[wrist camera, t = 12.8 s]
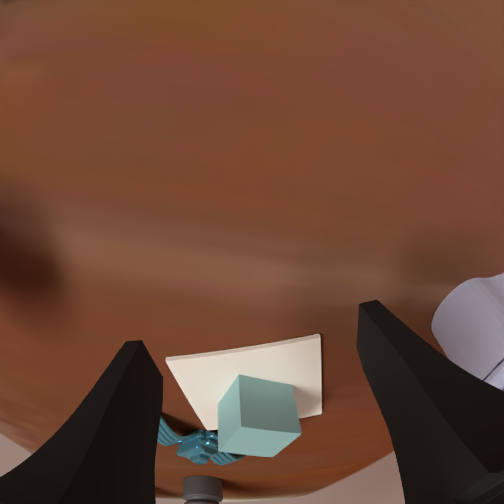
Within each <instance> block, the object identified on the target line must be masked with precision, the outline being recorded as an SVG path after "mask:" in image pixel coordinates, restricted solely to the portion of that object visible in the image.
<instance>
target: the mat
mask: <svg viewBox="0 0 504 504" xmlns="http://www.w3.org/2000/svg"><path fill="white" fill-rule="evenodd" d="M166 363H167V364H168V366H169V368H170V370H171V372H172V373H173V375H174V377H175V379H176V380H177V382H178V384H179V386H180V387H181V389H182V391H183V392H184V394H185V396H186V397H187V399H188V401H189V402H190V404H191V406H192V407H193V409H194V411H195V412H196V414H197V415H198V417H199V419H200V420H201V422H202V423H203V425H204V426H205V428H206V429H207V430H218V403H219V402H220V400H221V399H222V398H223V396H224V395H225V393H226V392H227V390H228V389H229V387H230V386H231V385H232V383H233V382H234V380H235V379H236V377H237V376H238V374H240V375H245V376H249V377H254V378H259V379H264V380H269V381H274V382H280V383H285V384H291V385H293V390H294V396H295V401H296V406H297V412H298V417H299V418H304V417H309V416H314V415H319V414H322V376H321V338H320V334H314V335H310V336H305V337H299V338H294V339H289V340H284V341H278V342H272V343H267V344H261V345H255V346H248V347H242V348H235V349H229V350H222V351H214V352H207V353H199V354H191V355H182V356H173V357H166Z"/></svg>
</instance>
